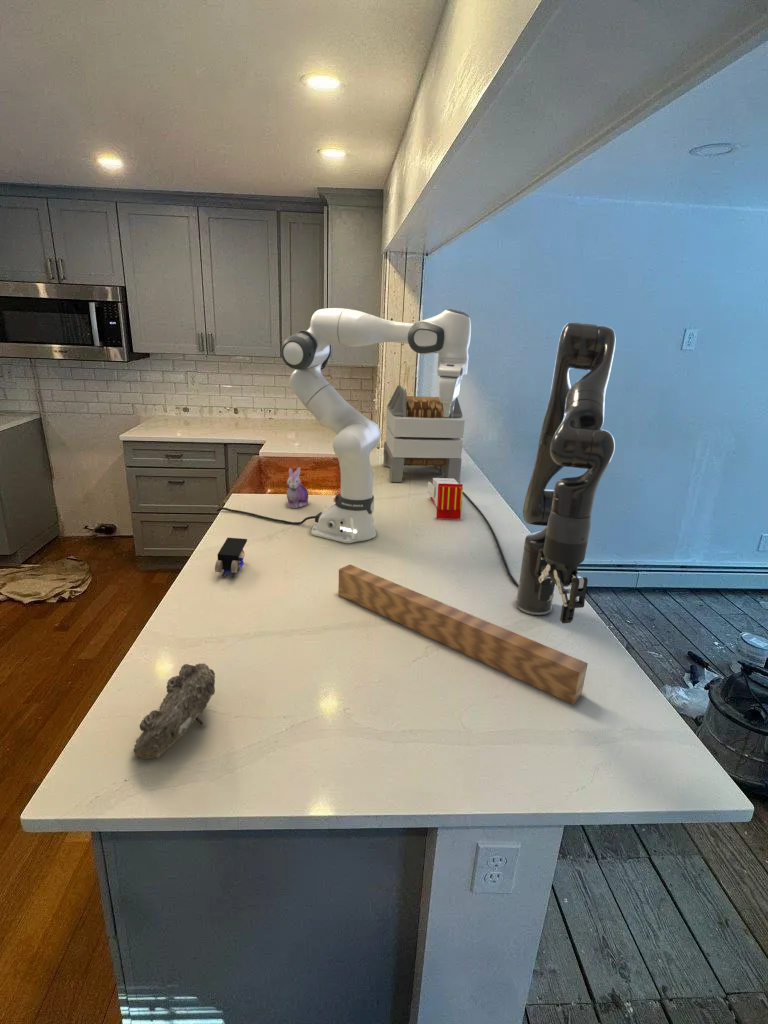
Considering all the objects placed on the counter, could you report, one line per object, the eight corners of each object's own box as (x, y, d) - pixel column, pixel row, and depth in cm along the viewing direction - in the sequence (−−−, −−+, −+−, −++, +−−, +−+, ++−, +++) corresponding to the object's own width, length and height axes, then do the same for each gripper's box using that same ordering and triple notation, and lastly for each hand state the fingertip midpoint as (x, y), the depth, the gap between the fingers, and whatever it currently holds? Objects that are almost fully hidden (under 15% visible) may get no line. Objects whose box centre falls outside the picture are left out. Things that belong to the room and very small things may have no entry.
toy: (455, 474, 240) (467, 485, 211) (453, 505, 243) (464, 520, 214) (426, 473, 240) (434, 484, 211) (425, 504, 243) (432, 519, 213)
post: (338, 594, 156) (338, 569, 153) (349, 589, 159) (349, 564, 156) (573, 704, 116) (579, 672, 113) (581, 694, 119) (587, 663, 117)
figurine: (290, 510, 218) (289, 472, 212) (281, 502, 226) (281, 465, 221) (313, 507, 222) (313, 470, 217) (304, 499, 230) (304, 463, 225)
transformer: (382, 463, 289) (386, 382, 275) (445, 464, 293) (451, 384, 279) (390, 482, 257) (394, 392, 243) (460, 483, 261) (468, 394, 247)
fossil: (165, 664, 116) (216, 632, 111) (198, 695, 118) (250, 665, 113) (108, 752, 96) (167, 718, 91) (150, 786, 99) (209, 755, 94)
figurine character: (238, 584, 162) (249, 557, 175) (236, 562, 158) (247, 536, 172) (215, 584, 161) (227, 556, 175) (212, 561, 158) (225, 535, 171)
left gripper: (446, 364, 178) (442, 408, 183) (437, 370, 159) (433, 419, 164) (466, 365, 177) (462, 409, 181) (459, 371, 158) (454, 421, 163)
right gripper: (607, 549, 100) (591, 628, 105) (565, 519, 112) (553, 591, 118) (569, 551, 98) (555, 632, 104) (530, 521, 111) (520, 594, 116)
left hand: (448, 414), depth 173 cm, fingers open, 8 cm apart
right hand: (554, 610), depth 111 cm, fingers open, 8 cm apart
